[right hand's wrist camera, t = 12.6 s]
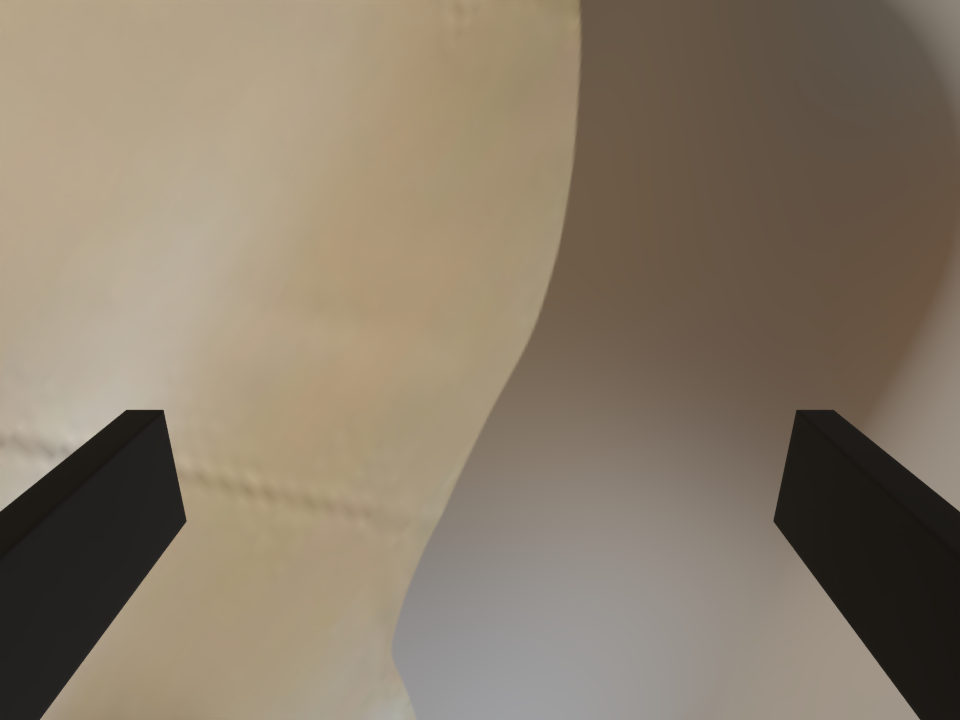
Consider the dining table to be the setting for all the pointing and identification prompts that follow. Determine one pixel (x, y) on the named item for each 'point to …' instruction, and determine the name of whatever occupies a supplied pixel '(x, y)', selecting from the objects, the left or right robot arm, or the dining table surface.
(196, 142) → the dining table surface
